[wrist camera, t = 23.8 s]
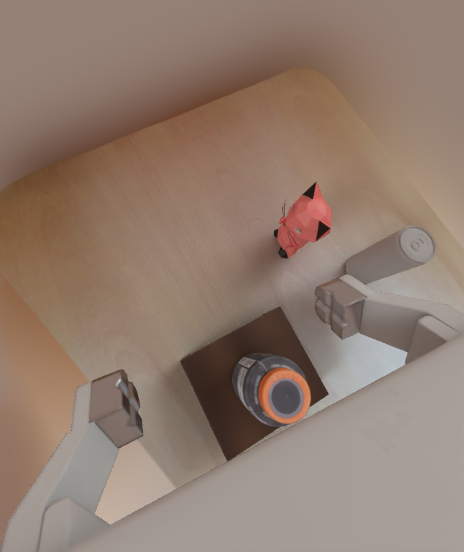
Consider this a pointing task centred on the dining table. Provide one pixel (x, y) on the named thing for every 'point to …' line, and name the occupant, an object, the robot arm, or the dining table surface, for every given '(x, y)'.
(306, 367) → the shelf
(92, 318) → the dining table surface
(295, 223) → the cat figurine
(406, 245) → the beverage can
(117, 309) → the dining table surface
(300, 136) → the dining table surface
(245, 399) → the pill bottle
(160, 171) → the dining table surface
